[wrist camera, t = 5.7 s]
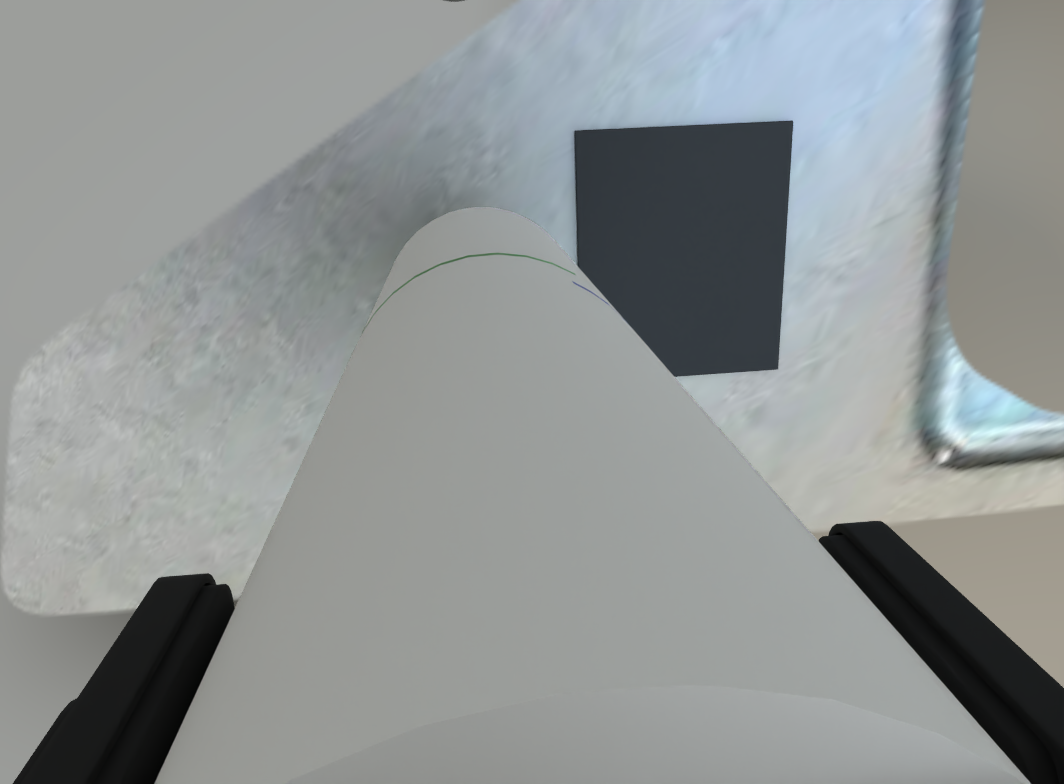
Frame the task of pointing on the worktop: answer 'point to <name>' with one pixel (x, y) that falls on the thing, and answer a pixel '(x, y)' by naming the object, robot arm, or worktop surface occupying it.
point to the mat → (689, 237)
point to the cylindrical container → (548, 572)
